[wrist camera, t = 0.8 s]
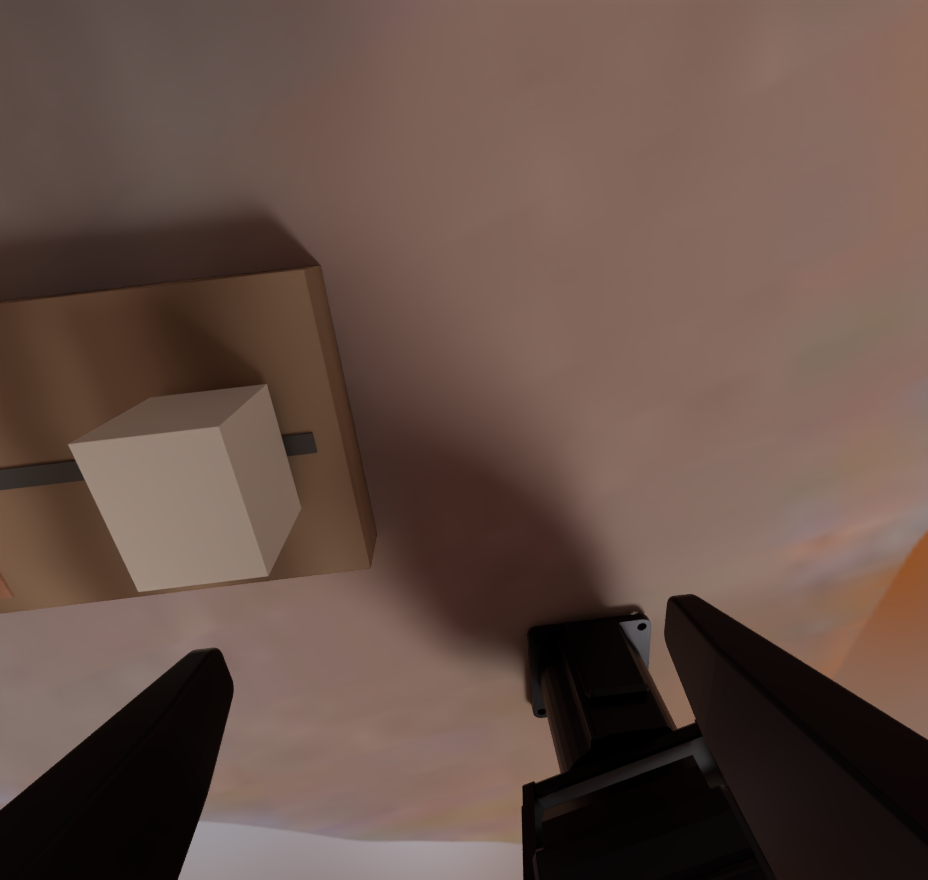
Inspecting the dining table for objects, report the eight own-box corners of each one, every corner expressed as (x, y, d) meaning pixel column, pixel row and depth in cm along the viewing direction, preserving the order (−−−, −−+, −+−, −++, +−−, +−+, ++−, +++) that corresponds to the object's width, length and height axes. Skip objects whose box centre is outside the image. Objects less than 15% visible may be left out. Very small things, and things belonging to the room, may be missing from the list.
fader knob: (266, 383, 16) (218, 426, 13) (301, 508, 18) (268, 576, 15) (150, 397, 16) (67, 444, 13) (197, 520, 18) (138, 592, 15)
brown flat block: (320, 265, 18) (302, 269, 15) (377, 534, 22) (370, 569, 20) (-226, 326, 17) (-331, 340, 15) (-51, 586, 22) (-110, 628, 20)
